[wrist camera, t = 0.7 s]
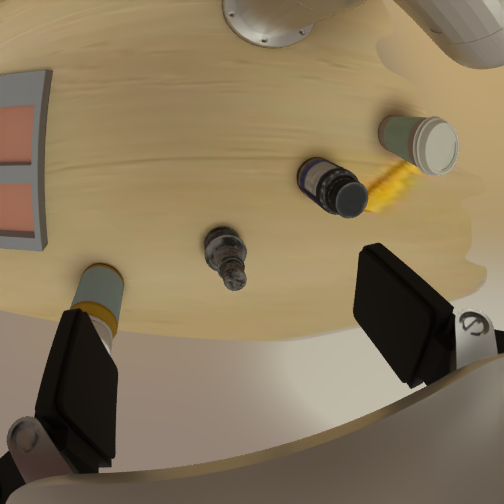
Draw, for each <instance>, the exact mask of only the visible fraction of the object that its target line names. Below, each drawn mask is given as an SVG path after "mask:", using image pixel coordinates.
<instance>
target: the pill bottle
mask: <svg viewBox="0 0 504 504" xmlns="http://www.w3.org/2000/svg"><path fill="white" fill-rule="evenodd" d="M297 181H298V185H299V188H300V190H301V191H302V192H303V193H304V194H305V195H307V196H308V197H309V198H310V199H311V200H313V201H314V202H315V203H316V204H318V205H319V206H320V207H321V208H323V209H324V210H325V211H327V212H328V213H330V214H334V215H340V216H342V217H344V218H354V217H356V216H358V215H359V214H361V213H362V212H363V210H364V209H365V207H366V205H367V202H368V192H367V190H366V188H365V186H364V185H363V184H361V183H360V182H359V181H358V179H357V177H356V176H355V175H354V174H353V173H352V172H350V171H349V170H346V169H344V168H342V167H340V166H338V165H336V164H334V163H332V162H330V161H328V160H325V159H322V158H312V159H310V160H308V161H306V162H305V163H304V164H303V165H302V166H301V168H300V169H299V172H298V175H297Z"/></svg>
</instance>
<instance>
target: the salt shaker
mask: <svg viewBox="0 0 504 504" xmlns="http://www.w3.org/2000/svg"><path fill="white" fill-rule="evenodd" d="M205 249H206V251H205V259H206V262H207V264H208V265H209V267H211V268H212V269H213V270H215V271H218V274H219V276H220V277H221V278H223V281H224V284H225V286H226V287H227V288H228V289H229V290H232V291H237V290H240V289H242V288H243V287H244V286H245V284H246V280H247V279H246V275H245V272H244V269H245V266H244V261H245V258H246V254H247V250H246V246H245V244H244V242H243V241H242V240H241V239H240V238H239V236H238V234H237V233H236V232H235V231H234V230H233V229H231V228H229V227H218V228H215V229H213V230H212V231H210V232H209V233H208V235H207V236H206V238H205Z"/></svg>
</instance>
